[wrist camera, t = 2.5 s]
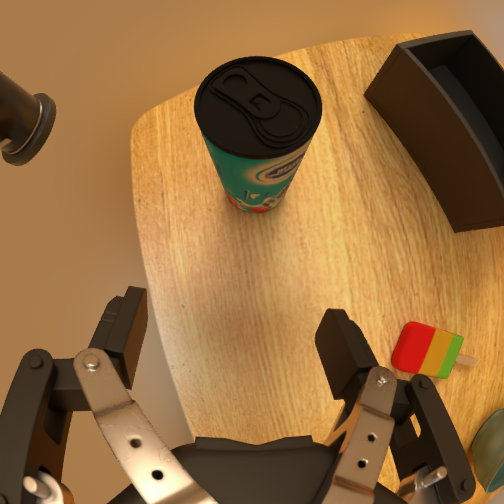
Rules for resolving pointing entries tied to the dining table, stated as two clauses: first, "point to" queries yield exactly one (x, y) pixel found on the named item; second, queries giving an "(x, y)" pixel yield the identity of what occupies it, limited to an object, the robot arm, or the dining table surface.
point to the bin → (449, 121)
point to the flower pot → (490, 453)
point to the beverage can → (257, 127)
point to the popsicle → (428, 351)
